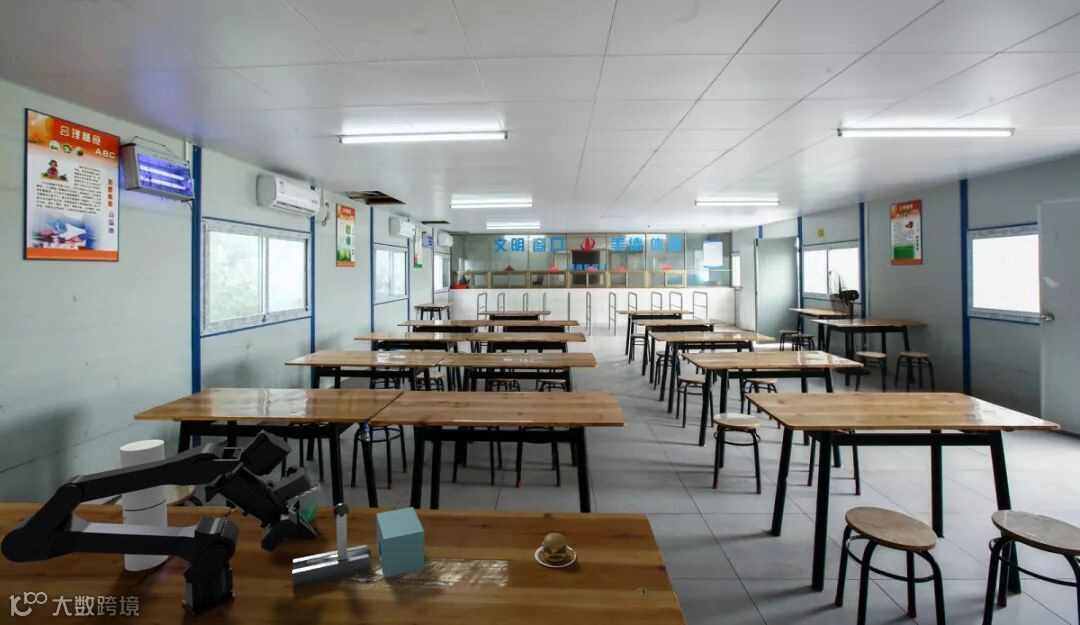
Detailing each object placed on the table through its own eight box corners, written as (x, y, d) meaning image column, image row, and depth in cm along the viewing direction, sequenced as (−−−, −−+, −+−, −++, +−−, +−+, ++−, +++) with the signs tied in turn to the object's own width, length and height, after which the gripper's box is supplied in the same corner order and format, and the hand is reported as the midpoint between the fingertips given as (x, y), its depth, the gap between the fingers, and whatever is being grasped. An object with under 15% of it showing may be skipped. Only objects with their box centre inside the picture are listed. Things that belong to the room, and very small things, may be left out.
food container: (279, 549, 109) (278, 505, 108) (267, 540, 113) (265, 497, 112) (332, 527, 119) (331, 487, 118) (318, 520, 122) (318, 480, 122)
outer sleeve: (292, 589, 95) (292, 573, 95) (293, 574, 99) (293, 559, 99) (369, 571, 101) (369, 556, 100) (366, 558, 105) (366, 544, 105)
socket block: (384, 578, 99) (383, 539, 98) (376, 548, 109) (376, 513, 109) (424, 568, 102) (424, 531, 101) (413, 540, 113) (413, 507, 112)
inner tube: (306, 576, 97) (305, 512, 96) (307, 567, 99) (305, 506, 99) (371, 562, 102) (370, 501, 101) (369, 554, 105) (368, 495, 104)
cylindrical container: (144, 572, 100) (139, 452, 98) (115, 568, 101) (110, 449, 100) (176, 554, 107) (172, 440, 105) (149, 550, 108) (145, 438, 107)
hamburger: (575, 580, 99) (576, 554, 99) (520, 570, 103) (520, 544, 103) (588, 550, 111) (588, 526, 110) (537, 541, 114) (537, 518, 114)
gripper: (280, 476, 87) (348, 525, 92) (285, 445, 104) (343, 487, 109) (229, 529, 84) (302, 576, 89) (243, 487, 101) (304, 529, 106)
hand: (315, 537), depth 98 cm, fingers closed
